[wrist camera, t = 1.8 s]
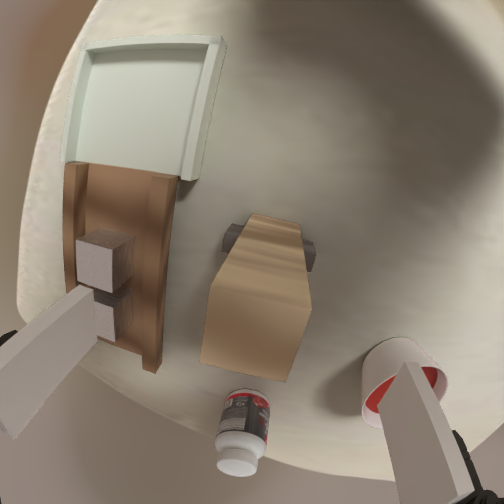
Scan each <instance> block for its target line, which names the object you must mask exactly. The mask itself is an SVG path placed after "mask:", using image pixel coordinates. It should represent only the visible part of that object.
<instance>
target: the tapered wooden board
mask: <svg viewBox="0 0 504 504" xmlns="http://www.w3.org/2000/svg"><path fill="white" fill-rule="evenodd" d="M222 252H226V253H229V254H228V256H227V258H226V260H225V261H224V263H223V265H222V266H221V268H220V270H219V272H218V273H217V275H216V277H215V279H214V280H213V282H212V284H211V286H210V290H209V297H208V303H207V310H206V317H205V323H204V330H203V338H202V345H201V352H200V360H199V362H200V363H204V364H207V365H211V366H215V367H219V368H223V369H227V370H231V371H235V372H239V373H243V374H248V375H252V376H257V377H262V378H266V379H271V380H277V381H282V382H285V381H286V379H287V376H288V374H289V371H290V369H291V366H292V364H293V361H294V358H295V356H296V353H297V351H298V348H299V345H300V342H301V340H302V337H303V334H304V332H305V329H306V326H307V323H308V320H309V317H310V315H311V312H312V305H311V298H310V290H309V283H308V276H307V271H308V272H311V270H312V266H313V263H314V260H315V256H316V252H315V248H314V245H313V242H309V241H305V240H302V237H301V231H300V225H299V224H296V223H292V222H288V221H283V220H279V219H275V218H270V217H266V216H262V215H257V214H253V213H252V215H251V217H250V218H249V220H248V222H247V223H246V225H245V227H244V226H240V225H236V224H232V225H231V226H230V227H229V228H228V230H227V231H226V232H225V235H224V241H223V247H222Z"/></svg>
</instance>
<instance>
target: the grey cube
mask: <svg viewBox="0 0 504 504" xmlns="http://www.w3.org/2000/svg"><path fill="white" fill-rule="evenodd" d="M134 245H135V236H133V235H129V234H125V233H121V232H117V231H113V230H109V229H105V228H98V229H96V230H94V231H92V232H90V233H88V234H86V235H84V236H82V237H80V238H78V239H76V264H77V280H78V281H79V282H82V283H84V284H87V285H90V286H93V287H96V288H98V289H101V290H104V291H107V292H110V293H113V292H115V291H116V290H117V289H118V288H119V287H120V286H121V285H123V284H124V283H125V282H126V281H127V280H128V279H129V278H131V277H132V276H133V267H134Z"/></svg>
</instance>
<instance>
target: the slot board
mask: <svg viewBox="0 0 504 504" xmlns="http://www.w3.org/2000/svg"><path fill="white" fill-rule="evenodd" d="M177 182H178V176H177V175H171V174H165V173H159V172H153V171H146V170H140V169H133V168H126V167H119V166H112V165H104V164H96V163H88V162H74V163H66V164H65V171H64V186H63V255H64V271H65V282H66V292H67V293H69V292H70V291H72V290H73V289H74V288H76V287H77V286H78V285H82V286H84V287H87V288H88V287H90V285H87V284H84V283H82V282H79V281H78V280H77V264H76V239H78V238H80V237H82V236H84V235H86V234H88V233H90V232H92V231H94V230H96V229H98V228H105V229H109V230H113V231H117V232H121V233H125V234H129V235H133V236H135V245H134V267H133V276H132V277H131V278H129V279H128V280H127V281H126V282H125V283H124V284H123V286H126V287H129V288H132V289H133V322H132V323H131V324H130V326H129V327H128V328H127V329H126V330H125V331H124V333H123V334H122V335H121V336H120V337H119V339H118V340H117V341H116V342H113V341H110V340H108V339H105V338H103V337H100V336H98V335H97V338H98V339H100V340H103V341H105V342H108V343H110V344H113V345H115V346H118V347H120V348H123V349H126V350H128V351H131V352H134V353H136V354H139V355H142V361H143V369H144V370H147V371H150V372H152V373H155V374H156V372H157V370H158V368H159V367H160V365H161V363H162V342H163V319H164V302H165V288H166V276H167V264H168V254H169V244H170V235H171V226H172V218H173V211H174V203H175V196H176V189H177Z"/></svg>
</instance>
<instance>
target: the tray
mask: <svg viewBox="0 0 504 504" xmlns="http://www.w3.org/2000/svg"><path fill="white" fill-rule="evenodd" d="M226 49H227V44H226V43H225V41H224V39H223V38H222V36H211V35H150V36H135V37H124V38H115V39H107V40H100V41H94V42H88V43H82V46H81V50H80V53H79V57H78V60H77V64H76V68H75V72H74V76H73V80H72V84H71V89H70V93H69V98H68V104H67V109H66V115H65V121H64V127H63V134H62V142H61V151H60V161H59V162H72V161H79V162H88V163H96V164H104V165H112V166H119V167H126V168H133V169H140V170H146V171H153V172H159V173H165V174H171V175H177V176H181V179H182V180H187V181H192V180H195V179H199V175H200V170H201V164H202V159H203V153H204V148H205V143H206V137H207V132H208V127H209V122H210V118H211V113H212V108H213V104H214V99H215V94H216V90H217V86H218V81H219V77H220V73H221V69H222V65H223V61H224V57H225V53H226Z"/></svg>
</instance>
